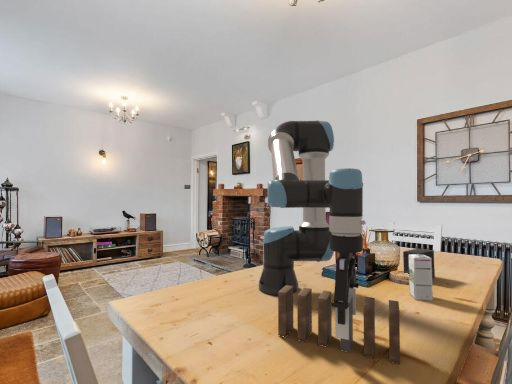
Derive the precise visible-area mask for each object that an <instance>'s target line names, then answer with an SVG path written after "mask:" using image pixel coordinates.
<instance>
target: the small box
mask: <svg viewBox="0 0 512 384" xmlns="http://www.w3.org/2000/svg"><path fill="white" fill-rule="evenodd" d="M409 254H421V255H426V256H428V257H430V258H431V262H432V279H434V278H435V277H436V274H435V272H436V270H435V250H433V249H427V248H426V249H425V248H424V249H423V248H415V249H408V250H405V251H402V258H403V259H402V260H403V274H404V273H408V274H409Z"/></svg>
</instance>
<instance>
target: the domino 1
mask: <svg viewBox="0 0 512 384" xmlns="http://www.w3.org/2000/svg"><path fill="white" fill-rule="evenodd" d="M277 297H278V298H277V300H278V301H277V302H278V303H277V305H278V306H277V307H278V308H277V309H278V311H277V312H278V314H277V317H278V321H277V323H278V324H277V327H278V329H277V331H278V333H277V334H278V335H280V336H284V337H286V336H287V335H288V336H289V335H290V333H291V332H292V330H293V329H294V293H293V286H289V285H286V286H285V287H283V288H282V289H281V290H280V291H279V292H278V295H277ZM292 328H293V329H292ZM290 331H291V332H290ZM289 332H290V333H289ZM278 335H277V336H278ZM280 336H279V337H280ZM288 336H287V337H288ZM284 337H283V338H284ZM287 337H286V338H287Z"/></svg>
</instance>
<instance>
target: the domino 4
mask: <svg viewBox="0 0 512 384" xmlns="http://www.w3.org/2000/svg"><path fill="white" fill-rule="evenodd" d="M339 302H343V301H339ZM348 307H349V340H346V339H342V338H339V339H340V343H339V344H340V351H341V350H343V351H342V352H344V351H347V352H346V353H349V352H350V353H351V350H352V346H351V345H353V342H354V341H353V340H354V321H353V320H354V318H353V317H354V315H353V295H352V294H349V296H348ZM350 349H351V350H350Z"/></svg>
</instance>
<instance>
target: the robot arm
mask: <svg viewBox="0 0 512 384" xmlns="http://www.w3.org/2000/svg"><path fill="white" fill-rule="evenodd" d="M334 143H335V136H334V130H333V127H332V125H331V123H330V122H328V121H326V120H288V121H285V122H282V123H279V124H278V125H277V126H276V127H275V128H274V129H273V130H272V131H271V132H270V134H269V137H268V139H267V147H268V151H269V152H270V153H271V164H272V165H271V166H272V180H269V181H268V182H267V205H268V206H269V207H271V208H281V209H286V208H287V209H288V208H290V209H291V208H292V209H293V208H297V209H298V208H302V222H300V224H299V225H298V230H295V228H294V227H293V226H291V225H290V226H278V227H273V228H269V229H266V230H264V233H263V241H262V244H263V257H262V258H263V261H262V263H263V266H262V267H263V268H262V271H261V274H260V277H259V281H258V290H259V291H260V292H262V293H265V294H269V295H275V296H278V292H279V291H280V290H281V289H282V288H283V287H285V286H286V285H289V286H293V294H296V293H297V292H299V281H298V278H297V275H296V272H295V269H294V268H295V266H294V265H295V263H294V262H317V263H320V262H328V261H330V260H331V259H332V258H333V256H334V253H335V252H337V253H338V255H339V256H338V258H336V259H335V278H334V279H335V280H334V290H333V291H334V292H333V293H334V294H333V295H334V296H333V302H332V303H331V306H332V308H334V319H335V321H334V323H335V327H334V329H335V331H334V332H335V333H334V334H335V336H334V337H335V338H336V339H337V338H338V339H340V338H342V339H346V340H349V307H348V296H349V294H352V295H353V316H356V315H357V312H356V311H357V307H356V306H357V300H356V299H357V298H356V295H357V290H356V289H359V283H357V281H358V280H356V271H355V264H357V262H356V261H357V259H356V257H355V254H360V253H362V252H363V251H364V237H363V236H362V235H361V234H362V233H363V231H364V230H363V226H364V225H365V224H366V220H363V216H364V214H363V204H364V203H363V195H364V194H363V187H364V182H363V173H362V171H361V169H359V168H347V167H346V168H335V169H334V168H333V169H331V170H330V171H329V177H328V180H327V179H326V159H327V157H329V155H330V152H332V151H333V150H334V146H335V145H334ZM294 152H298V157H299V158H300V159H301V160H302V179H301V180H300V177H299V173H298V172H299V171H298V167H297V163H296V160H295V159H296V158H295V155H294ZM326 209H329V216H328V219H329V221H328V222H327V221H326V219H327V218H326V216H327V215H326V214H327V213H326ZM328 223H329V224H328ZM340 301H343V302H340Z"/></svg>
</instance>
